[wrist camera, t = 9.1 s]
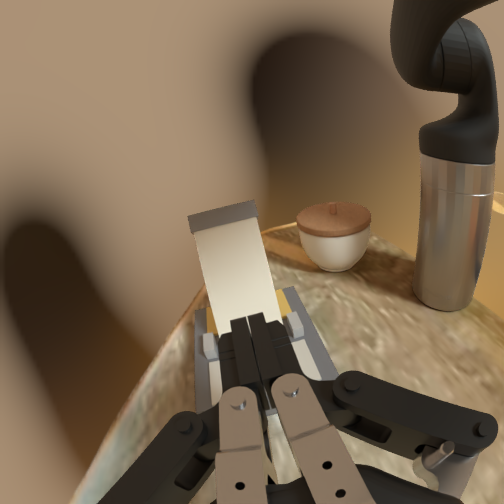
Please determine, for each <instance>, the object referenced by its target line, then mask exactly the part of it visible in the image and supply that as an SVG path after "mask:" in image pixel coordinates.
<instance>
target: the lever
mask: <svg viewBox="0 0 504 504" xmlns="http://www.w3.org/2000/svg"><path fill="white" fill-rule="evenodd" d="M257 219H258V213H257V209H256V205H255V201H254V200H251V201H247V202H242V203H237V204H233V205H229V206H225V207H221V208H217V209H213V210H209V211H205V212H201V213H197V214H194V215H190V216H188V221H189V226H190V230H191V233H192V234H193V235H194V237H195V242H196V246H197V251H198V255H199V259H200V263H201V268H202V272H203V276H204V280H205V284H206V288H207V292H208V296H209V300H210V304H211V308H212V312H213V316H214V319H215V323H216V327H217V330H218V334H219V338H220V336H221V334H224V333H228V332H231V325H230V320H233V319H237V318H241V317H245V316H246V319H247V322H248V318H247V316H249V315H253V314H256V313H260V312H263V314H264V317H265V320H266V323H268V322H271V321H275V320H278V321H279V322H280V323H282V324H283V322H282V318H281V314H280V309H279V305H278V301H277V297H276V293H275V289H274V285H273V281H272V277H271V273H270V269H269V265H268V261H267V257H266V253H265V249H264V245H263V242H262V238H261V234H260V230H259V226H258V222H257ZM248 325H249V322H248ZM249 329H250V327H249ZM250 332H251V331H250Z"/></svg>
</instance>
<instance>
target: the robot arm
mask: <svg viewBox="0 0 504 504" xmlns="http://www.w3.org/2000/svg"><path fill="white" fill-rule="evenodd" d="M495 1H498V0H394V5H393V11H392V19H391V29H390V43H391V52H392V57H393V61H394V64H395V66H396V68H397V71H398V73H399V74H400V75H401V77H402V78H403V79H404V80H405V81H406V82H407V83H408V84H410V85H411V86H413V87H416V88H419V89H423V90H427V91H438V92H448V93H456V94H458V107H457V108H456V110H455V111H454V112H453V113H452V114H450V115H449V116H447V117H445V118H443V119H441V120H438V121H435V122H431V123H428V124H426V125H424V126H422V127H421V128H420V131H419V147H420V168H421V169H420V173H421V196H420V197H421V199H420V219H419V220H420V221H419V233H418V244H417V253H416V261H415V268H414V275H413V282H412V288H413V291H414V293H415V295H416V296H417V298H418V299H419V300H420V301H422V302H423V303H424V304H426V305H428V306H430V307H432V308H435V309H438V310H443V311H455V310H460V309H462V308H464V307H466V306H467V305H468V304H469V303H470V302H471V300H472V297H473V294H474V290H475V287H476V283H477V280H478V277H479V273H480V269H481V265H482V261H483V257H484V252H485V248H486V243H487V237H488V232H489V226H490V219H491V212H492V204H493V194H494V178H495V150H496V144H497V139H498V133H499V117H498V103H497V91H496V80H495V72H494V67H493V61H492V56H491V53H490V49H489V46H488V44H487V41H486V39H485V37H484V35H483V33H482V32H481V30H480V29H479V28H478V26H477V25H475V24H474V23H473V22H471V21H469V20H467V19H464V18H461V17H462V16H464V15H466V14H468V13H470V12H472V11H473V10H476V9H478V8H481V7H483V6H486V5H488V4H490V3H493V2H495ZM247 318H248V322H249V325H248V322H247V319H246V316H245V317H241V318H237V319H233V320H230V325H231V332H228V333H224V334H221V336H220V339H219V341H218V353H219V361H220V362H219V363H220V373H221V382H222V396H221V398H220V400H219V402H218V403H217V404H216V405H215V406H214V407H212V408H210V409H208V410H206V411H204V412H202V413H200V414H198V415H197V414H196V413H194V412H190V411H183V412H180V413H177V414H176V415H174V416H173V417H172V418H171V419H170V420H169V422H168V423H167V424H166V425H165V426H164V428H163V429H162V430H161V431H160V432H159V434H158V435H157V436H156V437H155V438H154V440H153V441H152V442H151V443H150V444H149V446H148V447H147V448H146V449H145V450H144V452H143V453H142V454H141V455H140V456H139V457H138V459H137V460H136V461H135V462H134V463H133V464H132V465H131V467H130V468H129V469H128V470H127V471H126V472H125V473H124V475H123V476H122V477H121V478H120V479H119V480H118V481H117V482H116V484H115V485H114V486H113V487H112V488H111V489H110V490H109V491H108V492H107V493H106V495H105V496H104V497H103V498H102V499H101V500H100V501H99V502H98V503H97V504H188V503H189V502H190V501H191V499H192V498H193V497H194V496H195V494H196V493H197V492H198V490H199V489H200V488H201V486H202V485H203V484H204V482H205V481H206V480H207V478H208V477H209V476H210V474H211V473H212V472H213V470H214V469H215V471H216V494H217V499H215V500H214V501H213V502H212V503H210V504H464V503H463V502H462V501H461V500H460V498H461V496H462V494H463V491H464V489H465V487H466V485H467V483H468V480H469V478H470V476H471V473H472V471H473V468H474V466H475V463H476V461H477V458H478V455H479V454H480V452H482V451H483V450H484V449H485V448H487V447H488V446H489V445H491V444H492V443H493V441H494V440H495V438H496V436H497V433H498V424H497V421H496V419H495V418H494V417H493V416H492V415H490V414H487V413H483V412H479V411H476V410H472V409H468V408H465V407H461V406H458V405H454V404H451V403H448V402H444V401H441V400H438V399H435V398H432V397H429V396H426V395H423V394H420V393H417V392H414V391H411V390H408V389H405V388H402V387H400V386H397V385H394V384H391V383H388V382H386V381H383V380H380V379H378V378H375V377H373V376H370V375H367V374H365V373H362V372H359V371H347V372H344V373H342V374H340V375H339V376H338V377H337V378H336V379H335V380H325V381H319V380H314V379H311V378H309V377H307V376H306V375H305V374H304V373H303V371H302V369H301V367H300V364H299V362H298V359H297V356H296V354H295V351H294V349H293V346H292V344H291V341H290V338H289V336H288V333H287V330H286V328H285V326H284V325H283V324H282V323H280V322H279V321H278V320H275V321H271V322H268V323H266V320H265V317H264V314H263V312H260V313H256V314H253V315H249V316H247ZM249 327H250V329H249ZM250 331H251V332H250ZM266 393H267V394H266ZM267 396H268V398H267ZM268 399H269V402H270V405H271V408H272V409H274V408H276V410H277V413H278V416H279V419H280V423H281V426H282V428H283V431H284V433H285V436H286V439H287V441H288V444H289V446H290V449H291V451H292V454H293V457H294V459H295V462H296V465H297V467H298V470H299V472H300V475H301V477H300V478H298V479H297V480H295V481H293V482H290V483H288V484H278V479H277V474H276V470H275V466H274V461H273V455H272V448H271V442H270V435H269V428H268V420H267V416H266V412H265V411H266V410H270V406H269V402H268ZM337 429H338V430H340V431H342V432H344V433H347V434H349V435H351V436H353V437H355V438H358V439H360V440H362V441H365V442H367V443H369V444H372V445H374V446H376V447H379V448H381V449H384V450H387V451H389V452H392V453H394V454H397V455H400V456H403V457H405V458H408V459H411V460H414V461H413V471H414V473H415V475H416V476H417V477H419V478H421V479H423V480H424V481H425V482H426V484H427V486H428V488H425V487H423V486H420V485H417V484H414V483H411V482H409V481H406V480H404V479H401V478H399V477H396V476H394V475H391V474H389V473H387V472H384V471H382V470H380V469H377V468H375V467H372V466H368V465H362V464H354V462H353V460H352V458H351V456H350V454H349V452H348V450H347V448H346V446H345V444H344V443H343V441H342V439H341V437H340V435H339V433H338V431H337Z"/></svg>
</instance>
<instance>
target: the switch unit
mask: <svg viewBox="0 0 504 504" xmlns="http://www.w3.org/2000/svg"><path fill="white" fill-rule="evenodd" d="M275 293H276V297H277V301H278V305H279V309H280V314H281V318H282V322H283V325H284V326H285V328H286V330H287V333H288V336H289V338H290V341H291V344H292V346H293V349H294V351H295V354H296V356H297V359H298V362H299V364H300V367H301V369H302V371H303V373H304V374H305V375H306V376H307V377H309V378H311V379H314V380H319V381H325V380H335V379H336V378H337V377H338V376H339V374H338V372H337V370H336V368H335V366H334V364H333V362H332V360H331V358H330V356H329V354H328V352H327V350H326V348H325V346H324V344H323V342H322V340H321V338H320V336H319V334H318V333H317V331H316V329H315V327H314V325H313V323H312V321H311V319H310V317H309V315H308V313H307V311H306V309H305V307H304V305H303V303H302V302H301V300H300V298H299V296H298V294H297V292H296V290H295V288H294V286H292V287H289V288H285V289H279V290H275ZM219 339H220V338H219V334H218V330H217V327H216V323H215V319H214V316H213V312H212V308H211V306H210V307H206V308H204V309H199V310H195V405H196V413H197V414H200V413H202V412H204V411H206V410H208V409H210V408H212V407H214V406H215V405H216V404H217V403H218V402H219V400H220V398H221V396H222V382H221V373H220V363H219V362H220V361H219V353H218V341H219ZM266 394H267V393H266ZM267 398H268V396H267ZM268 402H269V399H268ZM269 406H270V410H266V411H265V412H266V416H268V415H273V414H277V410H276V408H274V409H272V408H271V405H270V402H269Z"/></svg>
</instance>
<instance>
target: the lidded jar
mask: <svg viewBox="0 0 504 504" xmlns="http://www.w3.org/2000/svg"><path fill="white" fill-rule="evenodd" d="M296 220H297V226H298V229H299V235H300V240H301V244H302V246H303V249H304V251H305V253H306V254H307V256H308V257H309V258H310V260H311V261H313V262H314V263H315V264H317V265H318V267H319V268H321V269H322V270H325V271H328V272H342V271H346V270H348V269H350V268H352V267H353V266H354V265H355V263H356V262H358V261H359V260H360V259H361V258H362V256H363V255H364V253H365V251H366V249H367V246H368V243H369V238H370V222H371V213H370V212H369V210H368V209H367V208H365V207H363V206H361V205H358V204H354V203H349V202H328V203H322V204H317V205H313V206H310V207H308V208H306V209H304V210H303V211H301V212H300V213H299V214H298V216H297V218H296Z"/></svg>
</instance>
